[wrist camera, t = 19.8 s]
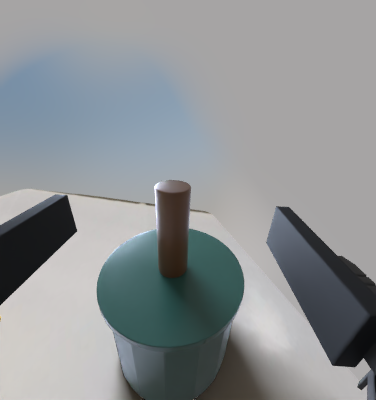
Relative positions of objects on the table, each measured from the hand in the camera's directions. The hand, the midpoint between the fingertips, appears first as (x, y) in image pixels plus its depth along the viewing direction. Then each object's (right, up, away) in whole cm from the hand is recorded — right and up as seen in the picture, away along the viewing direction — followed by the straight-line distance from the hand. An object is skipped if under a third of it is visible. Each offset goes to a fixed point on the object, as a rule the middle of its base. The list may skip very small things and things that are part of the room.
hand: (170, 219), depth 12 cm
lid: (0, -6, +6) cm, 9 cm away
